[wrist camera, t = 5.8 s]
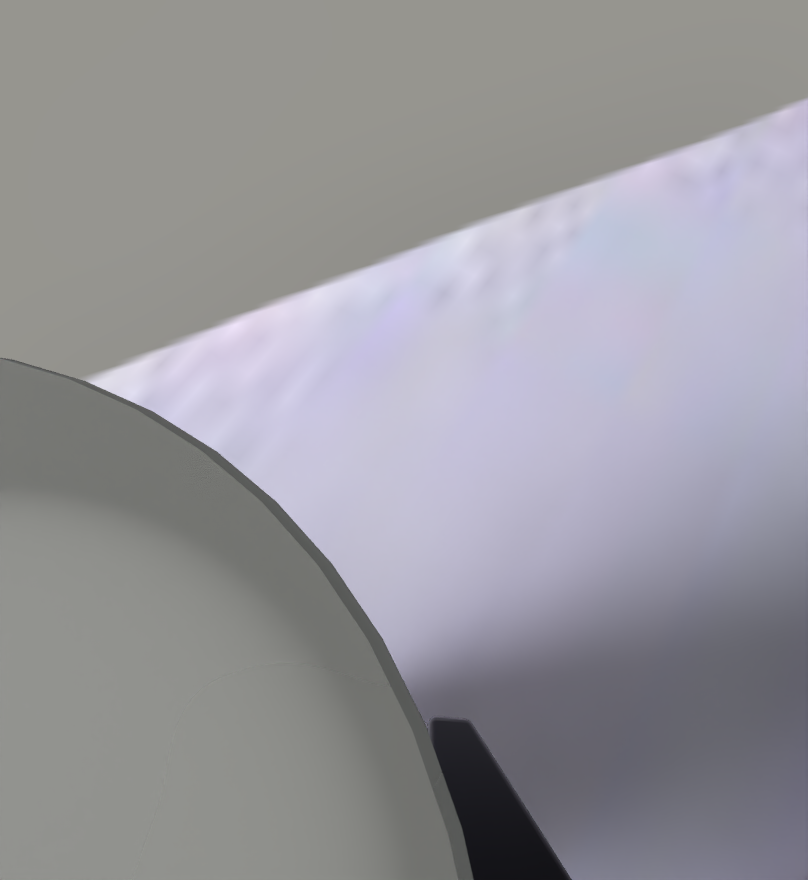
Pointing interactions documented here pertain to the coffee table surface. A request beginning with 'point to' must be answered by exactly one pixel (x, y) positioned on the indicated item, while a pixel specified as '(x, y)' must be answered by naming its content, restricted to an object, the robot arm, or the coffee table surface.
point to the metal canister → (188, 670)
